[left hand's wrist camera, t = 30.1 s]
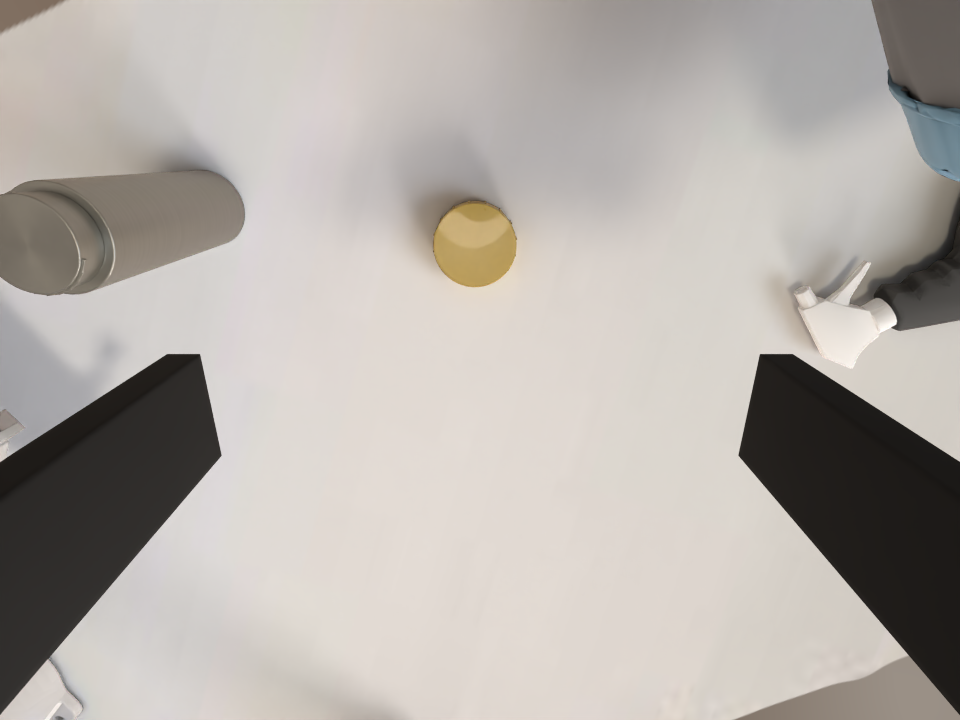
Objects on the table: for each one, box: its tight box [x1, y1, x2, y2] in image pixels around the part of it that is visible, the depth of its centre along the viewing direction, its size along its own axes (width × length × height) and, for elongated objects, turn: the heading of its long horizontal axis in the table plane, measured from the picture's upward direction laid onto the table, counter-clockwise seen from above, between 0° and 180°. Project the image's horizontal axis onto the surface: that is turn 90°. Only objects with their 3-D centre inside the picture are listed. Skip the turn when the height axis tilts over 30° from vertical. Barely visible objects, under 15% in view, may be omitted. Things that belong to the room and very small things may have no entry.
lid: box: [433, 200, 517, 287], centre depth 36 cm, size 6×6×2 cm
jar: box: [0, 170, 245, 296], centre depth 29 cm, size 5×5×16 cm
